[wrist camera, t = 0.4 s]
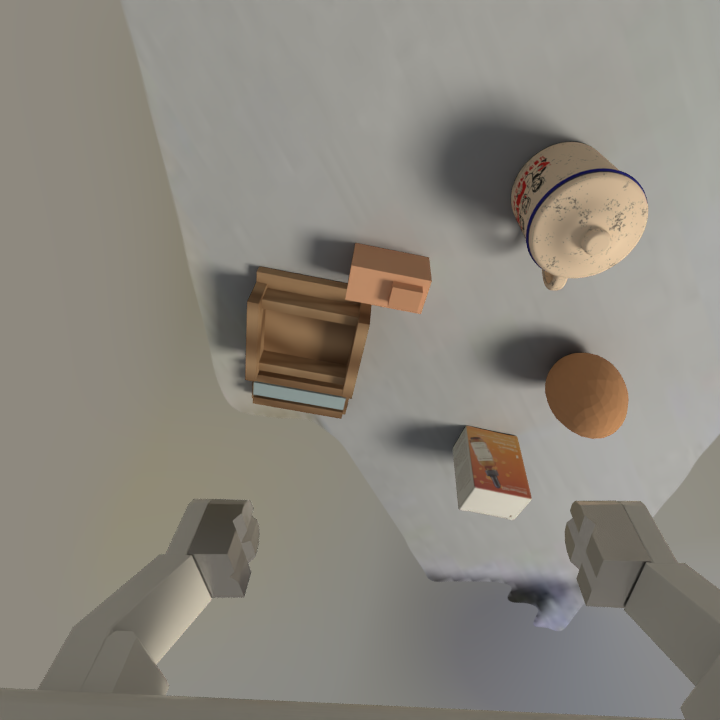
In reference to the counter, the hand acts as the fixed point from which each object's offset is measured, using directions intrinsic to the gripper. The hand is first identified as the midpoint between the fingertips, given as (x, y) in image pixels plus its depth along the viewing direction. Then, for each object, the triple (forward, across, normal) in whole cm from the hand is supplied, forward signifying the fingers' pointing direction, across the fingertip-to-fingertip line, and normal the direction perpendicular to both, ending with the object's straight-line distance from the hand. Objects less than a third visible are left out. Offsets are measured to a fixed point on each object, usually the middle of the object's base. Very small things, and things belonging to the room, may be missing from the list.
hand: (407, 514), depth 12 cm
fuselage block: (+39, +1, +9) cm, 40 cm away
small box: (+43, -12, +38) cm, 58 cm away
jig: (+41, +12, +20) cm, 47 cm away
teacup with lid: (+39, -15, +3) cm, 41 cm away
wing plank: (+40, +14, +26) cm, 50 cm away
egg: (+41, -21, +23) cm, 51 cm away
